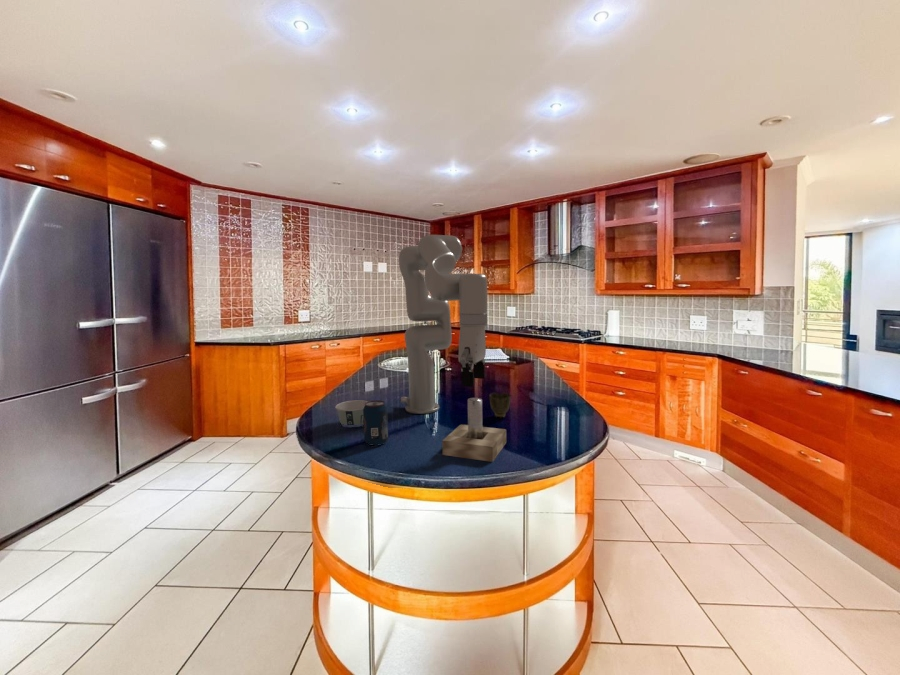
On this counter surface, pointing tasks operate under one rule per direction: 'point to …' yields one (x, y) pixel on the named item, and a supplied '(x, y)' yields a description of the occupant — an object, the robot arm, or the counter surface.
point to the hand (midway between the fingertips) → (473, 382)
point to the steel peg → (475, 418)
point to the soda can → (375, 422)
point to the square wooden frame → (474, 444)
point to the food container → (351, 412)
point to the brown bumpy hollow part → (499, 403)
